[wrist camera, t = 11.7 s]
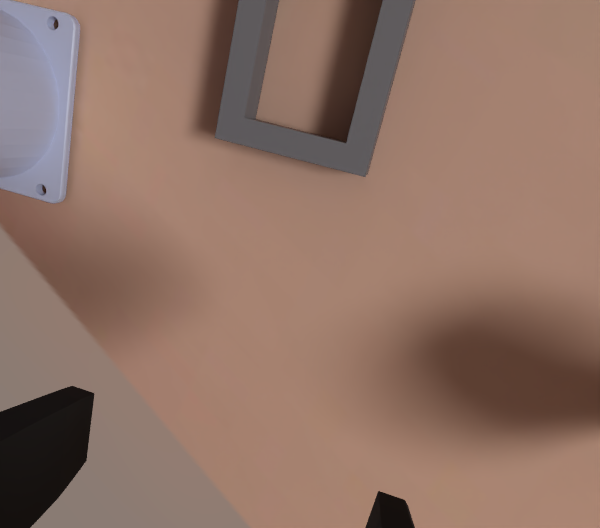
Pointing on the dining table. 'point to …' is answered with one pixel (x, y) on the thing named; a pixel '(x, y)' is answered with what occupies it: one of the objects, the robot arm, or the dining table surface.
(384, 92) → the grey rectangular frame
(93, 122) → the dining table surface
